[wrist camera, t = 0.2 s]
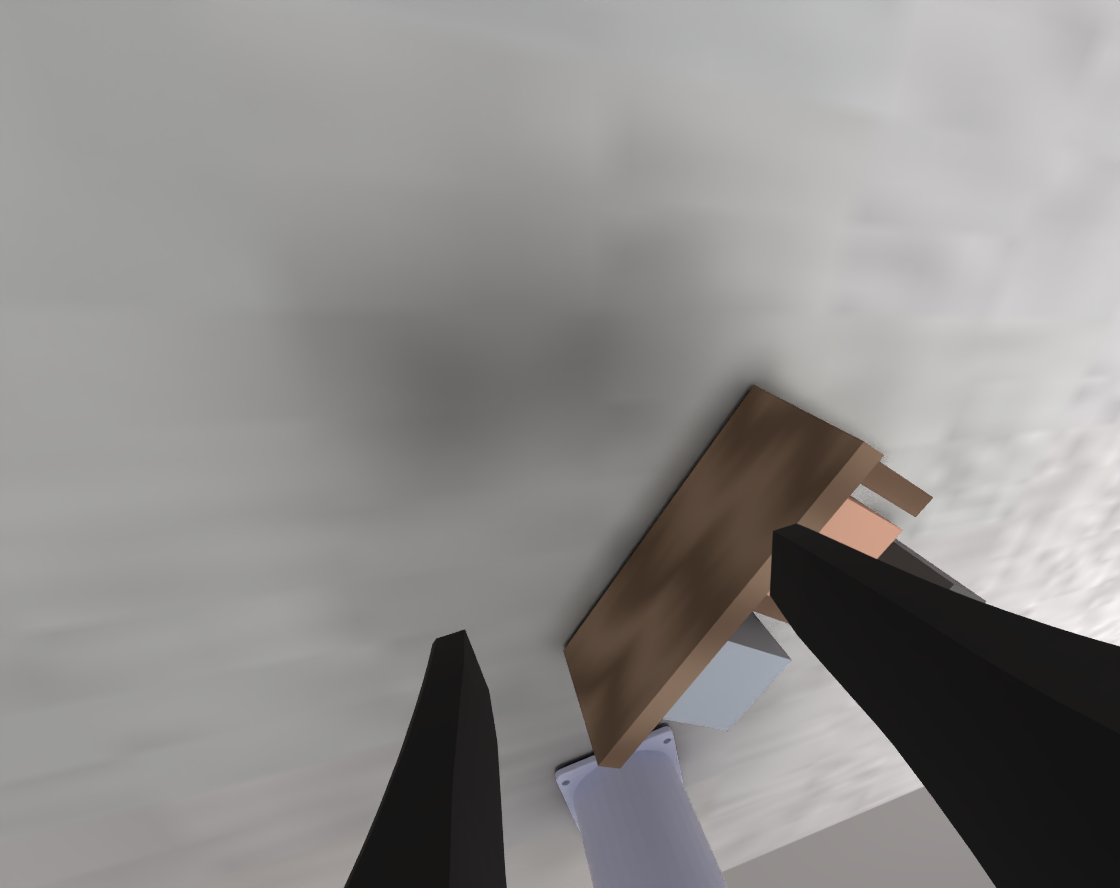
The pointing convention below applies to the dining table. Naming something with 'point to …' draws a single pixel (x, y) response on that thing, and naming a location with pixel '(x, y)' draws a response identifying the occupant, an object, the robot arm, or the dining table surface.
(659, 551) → the shelf lanes
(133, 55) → the dining table surface
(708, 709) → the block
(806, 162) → the dining table surface
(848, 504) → the block
